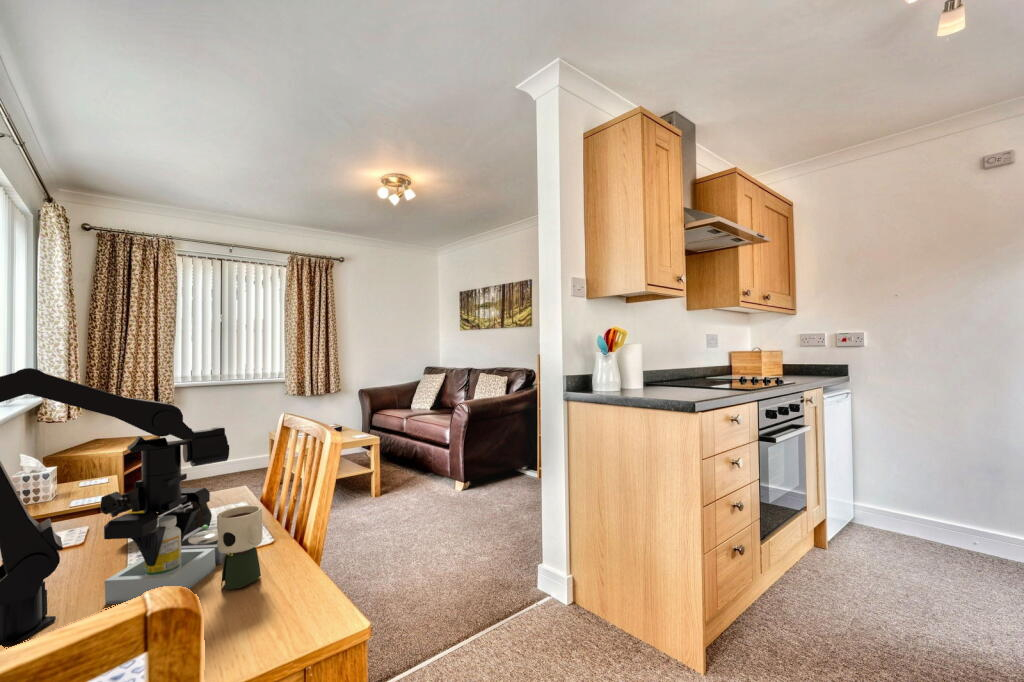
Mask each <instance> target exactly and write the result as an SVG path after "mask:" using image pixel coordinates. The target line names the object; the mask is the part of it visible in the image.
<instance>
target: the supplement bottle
mask: <svg viewBox="0 0 1024 682" xmlns="http://www.w3.org/2000/svg"><path fill="white" fill-rule="evenodd" d="M158 521H159V527H164V526H166V528H165V532H164V536H163V539H162V543H161V547H160V551H159V554H158V558H157V561H156V563H155V565H154V566H147V564H146V562H145V560H144V562H145V576H146V575H169V574H173V573H174V572H176V571H177V570H179V569H180V568H181V530H180V529H179V528H178V527H175V525H176V523H177V521H176V516H162V517H160V518H159V520H158Z"/></svg>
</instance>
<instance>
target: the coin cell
mask: <svg viewBox="0 0 1024 682" xmlns="http://www.w3.org/2000/svg"><path fill="white" fill-rule="evenodd" d="M218 538H219V537H218V531H217V529H210V530H205V531H201V532H198V533H196V534H194V535H192V536H190V537H189V538H188V545H189V546H195V545H214V544H216V543H218Z"/></svg>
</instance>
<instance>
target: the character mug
mask: <svg viewBox="0 0 1024 682" xmlns="http://www.w3.org/2000/svg"><path fill="white" fill-rule="evenodd" d="M216 527H217V531H218V537H219V538H218V544H217V548H218V550H219V552H220V553H226V554H225V556H224V562H223V563H222V571H221V584H220V585H221V586H220V587H221V588H222V587H223V582H224V589H225V590H236V589H240V588H243V587H245V586H247V585H249V584H251V583H253V582H254V581H256V580H258V579H259V578H261V576H262V574H261V566H260V561H259V555H258V550H257V548H256V547H258V546H260V544H262V543H263V542H262V541H263V537H264V535H263V533H264V532H263V507H262V506H261V505H258V504H257V505H256V504H252V505H251V504H250V505H240V506H239V505H238V506H235V507H231V508H227V509H225V510H223V511H221V512H219V513H218V514H217V515H216Z"/></svg>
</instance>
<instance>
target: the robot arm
mask: <svg viewBox="0 0 1024 682" xmlns="http://www.w3.org/2000/svg"><path fill="white" fill-rule="evenodd" d="M25 395H32V396H35V397H38V398H43V399H47V400H50V401H53V402H57V403H60V404H61V403H62V404H64V405H69V406H72V407H76V408H78V409H79V408H80V409H82V410H87V411H90V412H94V413H97V414H101V415H104V416H109V417H111V418H115V419H117V420H120V421H122V422H123V423H126V424H128V425H130V426H133V427H135V428H137V429H140V430H141V431H143V432H147V434H148V433H149V434H150V435H152V436H156V437H158V438H149V439H145V438H144V437H142V436H141V435H138V436H137V437H136V438H135V440H134V441H133V442H132V443H130V444H129V445H128V446H127V447H126V449H127V450H128V451H129V452H130V453H137V452H141V453H140V454H141V479H140V480H137V481H135V483H134V484H133V490H131V491H128V492H126V493H123V494H122V493H120V492H119V491H114V492H111V493H109V494H106V495H104V496H101V497H100V498H101V499H100V511H101V512H102V514H104V515H109V514H110V515H111V518H113V519H110V520H109V521H108V522H107V523H106V524H105V525H104V526H103V539H104V540H121V539H123V540H124V539H125V540H127V539H131V540H132V541H133V542H134V543H135V544H136V547H137V548H138V549H139V551H140V554H141V556H142V558H144V560H145V562H146V564H147V566H154V565H155V563H156V561H157V558H158V554H159V551H160V547H161V543H162V539H163V536H164V532H165V528H166V526H164V527H159V521H158V520H159V518H160V517H162V516H176V521H177V523H176V525H175V527H178V528H179V529H180V530H181V542H182V540H183V538H184V536H185V534H186V532H187V530H188V528H189V526H190V524H191V522H192V521H193V519H194V517H195V515H196V513H197V512H198V511H199V510H200V508H193V506H192V504H191V502H196V503H197V504H198V505H203V504H205V503H207V504H208V503H209V502H210V501H211V500H210V498H211V497H210V496H211V495H210V493H211V492H210V490H208V488H206V487H184V488H182V482H183V481H185V480H187V478H188V477H187V476H188V473H182V459H183V461H184V462H183V463H185V464H186V463H189V464H190V466H191V468H194V467H200V466H204V465H205V466H206V465H210V464H211V465H212V464H216V463H222V462H227V461H228V460H229V457H230V444H229V443H228V441H229V440H228V438H227V434H226V428H225V427H223V426H216V427H211V428H209V429H200V430H199V429H198V430H193V428H191V427H189V426H188V425H187V424H186V423H185V422H184V415H183V412H182V411H181V409H180V408H179V407H177V406H175V405H173V404H170V403H167V402H162V401H156V400H155V401H154V400H149V399H142V398H135V397H134V398H133V397H127V396H121V395H119V394H116V393H115V394H114V393H112V392H108V391H105V390H101V389H99V388H95V387H91V386H89V385H85V384H81V383H78V382H76V381H71V380H68V379H65V378H61V377H58V376H55V375H52V374H48V373H46V372H43V371H41V370H39V369H38V368H33V367H25V368H21V369H20V370H19V369H18V370H16V371H15V372H12V373H8V374H5V375H1V376H0V403H3V402H6V401H9V400H11V399H16V398H19V397H22V396H25ZM168 436H173V437H175V438H177V439H179V440H171V441H168V440H167V438H166V437H168ZM181 447H182V448H181ZM22 500H23V499H22V498H21V496H20V495H19V493H18V491H17V489H16V487H15V486H14V484H13V481H12V480H11V477H10V476H9V473H8V472H7V470H6V469H5V467H4V464H3V463H2V461H1V460H0V556H1V560H2V564H1V565H0V646H13V645H16V644H18V643H20V642H21V641H23V640H25V639H27V638H28V637H30V636H31V635H33V634H35V633H36V632H38V631H39V630H41V629H43V628H44V627H46V626H48V625H49V624H51V623H53V622H54V621H56V618H57V617H56V615H49V616H48V590H47V589H46V581H45V579H47V578H49V577H50V576H51V575H52V574H53V573H54V572H55V571H56V569H57V567H58V566H59V564H60V561H61V558H60V557H61V555H60V552H59V551H63V549H64V546H63V545H64V544H63V541H62V537H61V536H59V535H58V534H57V533H55V531H54V528H53V525H52V520H51V518H47V519H45V520H43V521H41V522H40V523H39V522H38V521H37V520H36V519H35V518H34V517H33V516H31V515H30V513H29V511H28V509H27V508H26V506H25V504H24V502H23V501H22ZM131 509H132V512H139V511H144V513H131V514H127V513H125V512H129V511H130V510H131ZM122 513H124V514H122ZM119 514H122V515H119Z"/></svg>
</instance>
